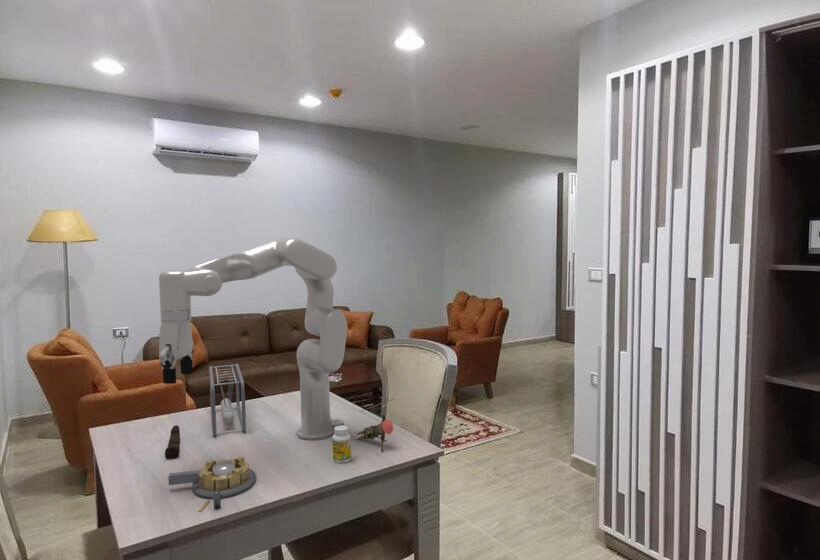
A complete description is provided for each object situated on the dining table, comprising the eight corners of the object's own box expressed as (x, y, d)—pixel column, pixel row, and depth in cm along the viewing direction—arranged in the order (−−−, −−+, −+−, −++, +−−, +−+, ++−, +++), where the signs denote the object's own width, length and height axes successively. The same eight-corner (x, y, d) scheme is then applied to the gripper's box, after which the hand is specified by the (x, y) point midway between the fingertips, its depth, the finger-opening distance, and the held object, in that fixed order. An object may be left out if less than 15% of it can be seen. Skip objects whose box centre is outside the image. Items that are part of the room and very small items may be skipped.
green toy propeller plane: (370, 464, 167) (413, 452, 155) (346, 457, 161) (389, 445, 149) (373, 415, 176) (414, 401, 164) (350, 408, 170) (391, 392, 158)
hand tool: (179, 459, 154) (179, 443, 154) (164, 460, 153) (164, 445, 153) (185, 436, 172) (185, 422, 172) (172, 437, 171) (172, 424, 170)
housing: (257, 467, 147) (256, 450, 147) (253, 505, 127) (252, 485, 126) (197, 474, 143) (196, 456, 143) (183, 514, 123) (182, 493, 122)
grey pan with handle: (250, 466, 145) (249, 453, 145) (247, 487, 133) (246, 472, 133) (174, 475, 140) (173, 461, 140) (164, 497, 128) (163, 482, 128)
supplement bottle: (354, 456, 154) (353, 425, 153) (346, 464, 149) (345, 432, 148) (337, 454, 155) (336, 423, 155) (329, 462, 150) (328, 430, 150)
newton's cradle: (246, 433, 173) (244, 381, 172) (213, 438, 169) (210, 385, 168) (239, 406, 201) (237, 362, 199) (210, 410, 197) (208, 364, 195)
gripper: (177, 311, 148) (180, 370, 150) (145, 321, 131) (148, 387, 132) (203, 311, 148) (205, 370, 150) (174, 321, 131) (177, 387, 132)
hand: (178, 378), depth 141 cm, fingers open, 9 cm apart
